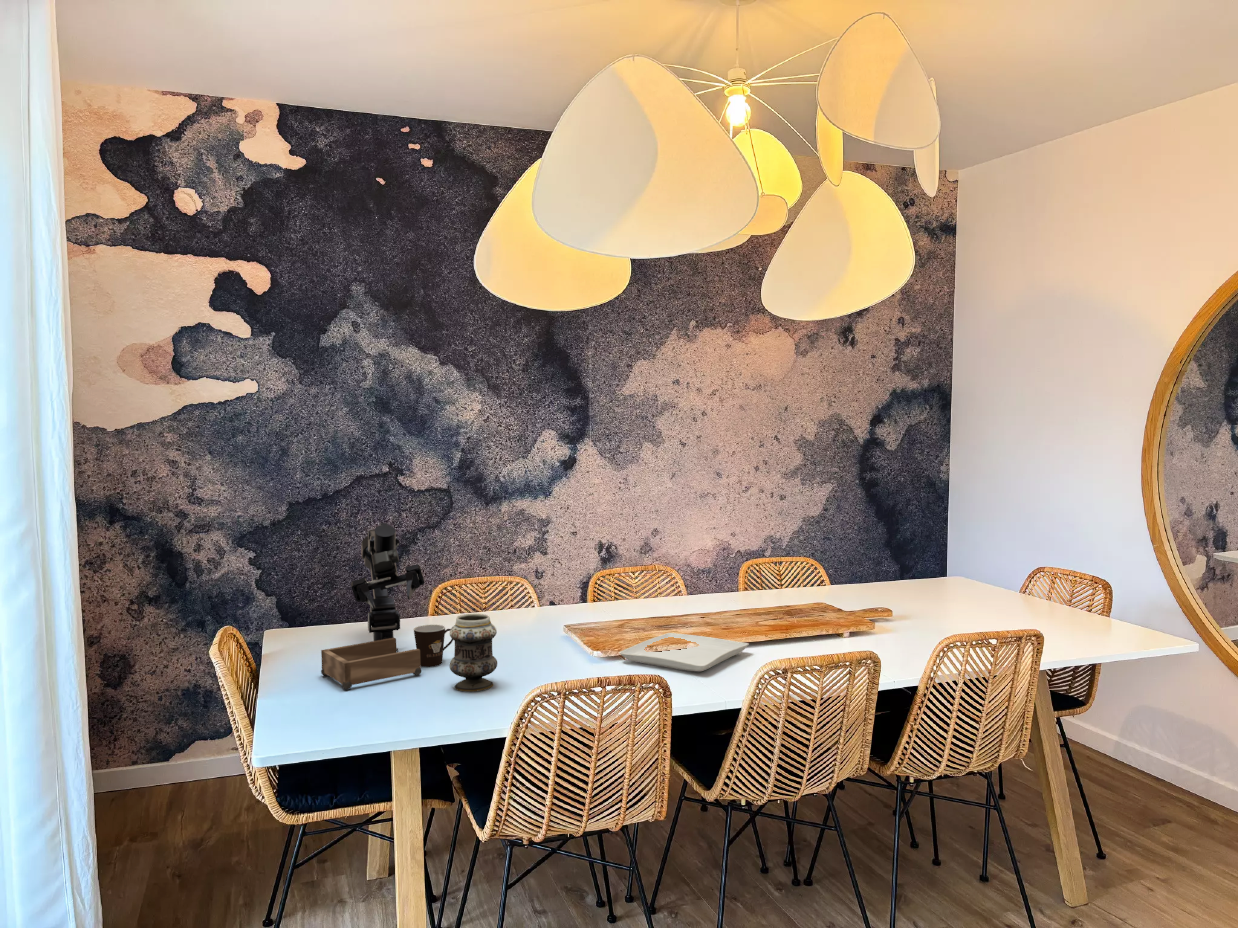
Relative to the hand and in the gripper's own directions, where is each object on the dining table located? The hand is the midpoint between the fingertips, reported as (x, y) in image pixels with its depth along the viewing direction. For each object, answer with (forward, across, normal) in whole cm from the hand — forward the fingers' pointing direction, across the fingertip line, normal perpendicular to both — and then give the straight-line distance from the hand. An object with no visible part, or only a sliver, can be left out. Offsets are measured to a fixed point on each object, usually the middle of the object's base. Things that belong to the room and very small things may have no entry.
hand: (391, 602), depth 244 cm
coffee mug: (+2, +7, +24) cm, 25 cm away
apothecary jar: (+25, +16, +13) cm, 32 cm away
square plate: (+22, +73, +29) cm, 82 cm away
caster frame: (+7, -9, +17) cm, 20 cm away
